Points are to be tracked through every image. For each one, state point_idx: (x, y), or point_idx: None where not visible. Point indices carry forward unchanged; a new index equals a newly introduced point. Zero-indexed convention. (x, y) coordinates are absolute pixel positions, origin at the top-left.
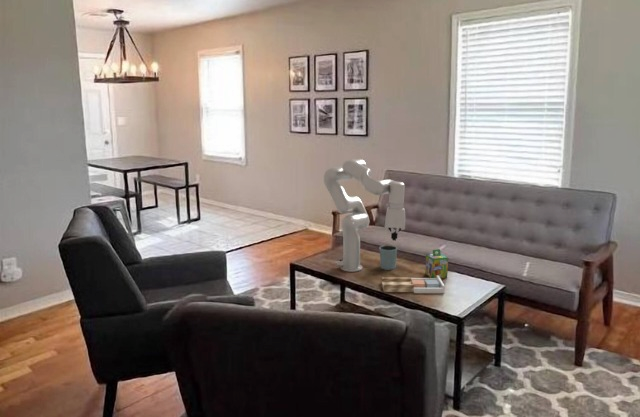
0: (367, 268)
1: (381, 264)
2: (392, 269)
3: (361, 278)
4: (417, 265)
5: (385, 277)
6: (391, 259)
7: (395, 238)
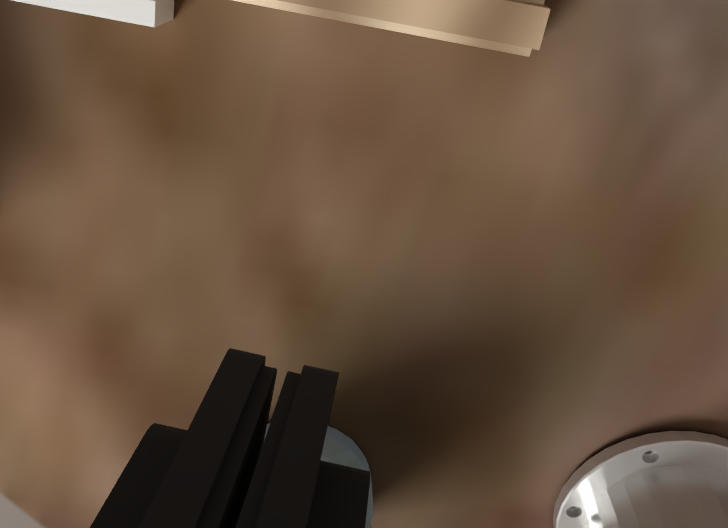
0: (507, 487)
1: (370, 495)
2: None
3: (686, 247)
4: (10, 472)
5: (489, 39)
6: None
7: (227, 392)
